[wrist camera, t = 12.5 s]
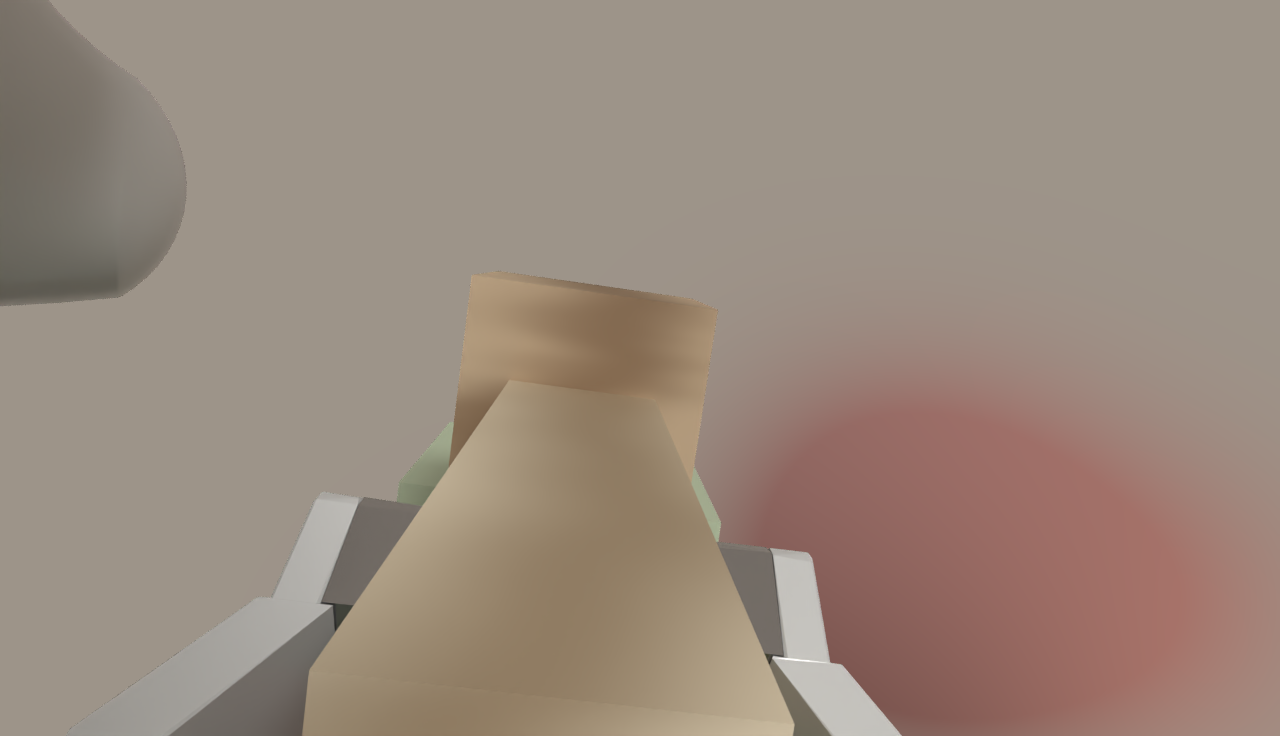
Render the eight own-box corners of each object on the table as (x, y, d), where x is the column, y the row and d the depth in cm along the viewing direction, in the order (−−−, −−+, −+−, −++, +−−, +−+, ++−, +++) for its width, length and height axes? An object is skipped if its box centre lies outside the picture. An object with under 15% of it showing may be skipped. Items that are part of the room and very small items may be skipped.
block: (102, 1099, 6) (167, 320, 5) (474, 461, 24) (498, 270, 23) (868, 1161, 6) (1010, 433, 5) (663, 485, 24) (691, 298, 23)
